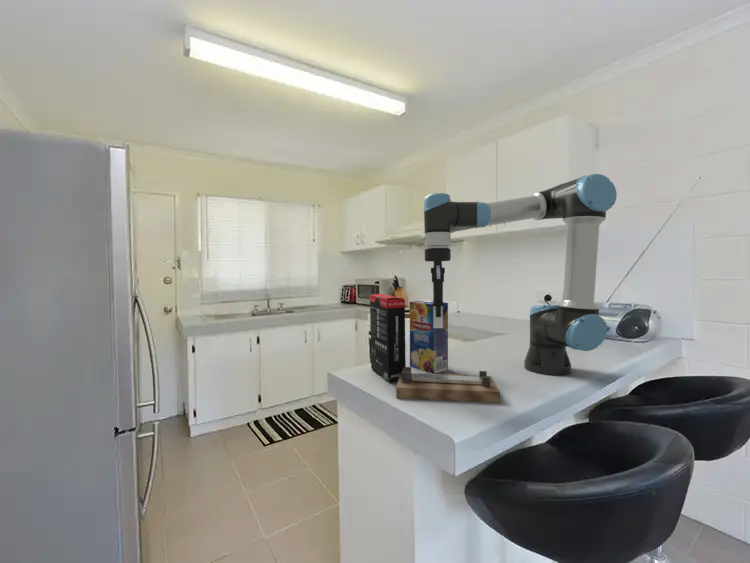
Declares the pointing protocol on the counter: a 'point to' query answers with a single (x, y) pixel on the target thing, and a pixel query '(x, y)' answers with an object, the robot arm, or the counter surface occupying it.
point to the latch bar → (447, 379)
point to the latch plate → (447, 389)
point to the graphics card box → (387, 335)
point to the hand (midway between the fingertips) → (438, 327)
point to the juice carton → (428, 338)
